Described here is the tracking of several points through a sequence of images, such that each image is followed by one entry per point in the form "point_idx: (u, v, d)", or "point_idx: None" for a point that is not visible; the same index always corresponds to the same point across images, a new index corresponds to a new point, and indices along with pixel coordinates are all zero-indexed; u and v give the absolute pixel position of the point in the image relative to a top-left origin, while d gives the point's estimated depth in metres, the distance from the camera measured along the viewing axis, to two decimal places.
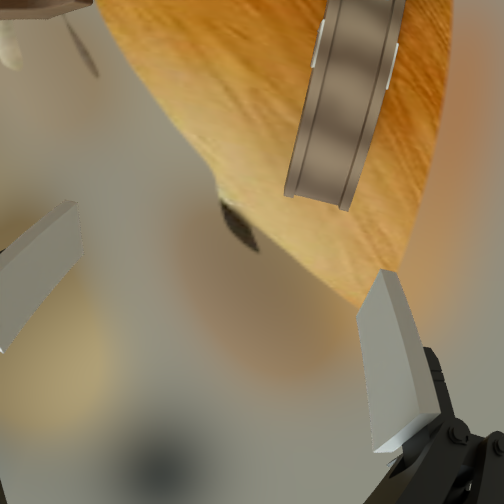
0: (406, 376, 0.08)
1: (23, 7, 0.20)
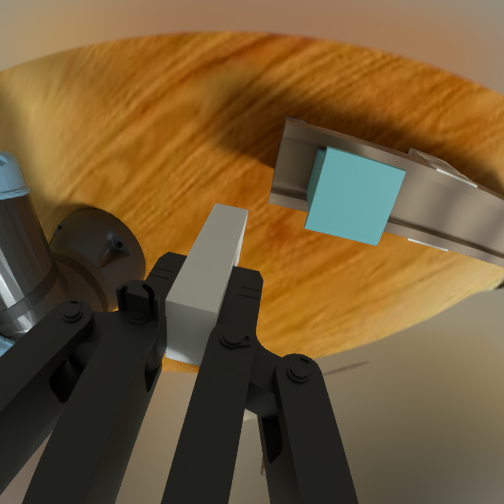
0: None
1: None
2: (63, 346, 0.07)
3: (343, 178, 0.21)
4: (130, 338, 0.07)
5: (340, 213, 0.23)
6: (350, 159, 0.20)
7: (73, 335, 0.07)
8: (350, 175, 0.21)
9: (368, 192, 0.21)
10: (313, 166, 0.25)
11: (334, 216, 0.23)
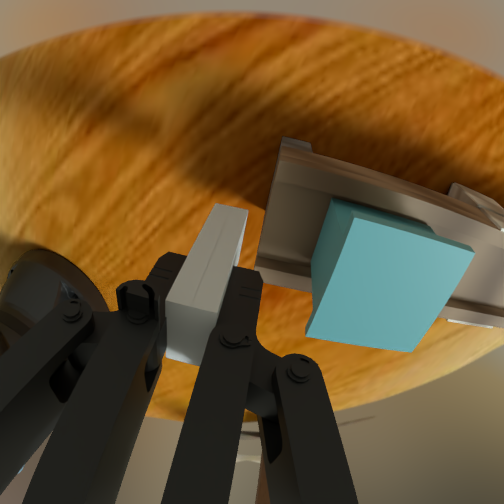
0: None
1: None
2: (63, 346, 0.07)
3: (376, 267, 0.12)
4: (130, 338, 0.07)
5: (364, 317, 0.13)
6: (391, 237, 0.11)
7: (73, 335, 0.07)
8: (388, 262, 0.12)
9: (413, 286, 0.12)
10: (323, 226, 0.16)
11: (354, 321, 0.14)
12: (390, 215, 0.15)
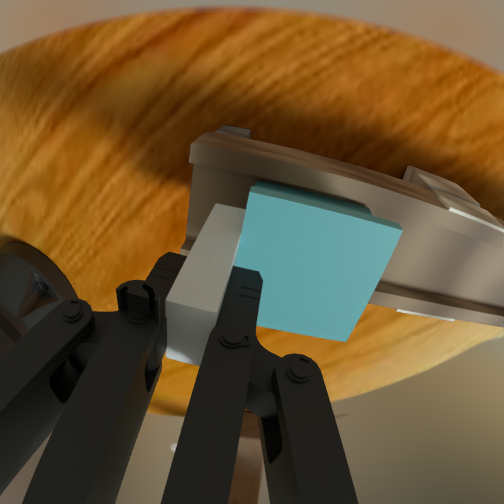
0: None
1: (259, 481, 0.35)
2: (63, 346, 0.07)
3: (283, 245, 0.12)
4: (130, 338, 0.07)
5: (281, 299, 0.14)
6: (293, 212, 0.11)
7: (73, 335, 0.07)
8: (296, 240, 0.12)
9: (331, 266, 0.12)
10: None
11: (271, 303, 0.14)
12: (320, 196, 0.15)
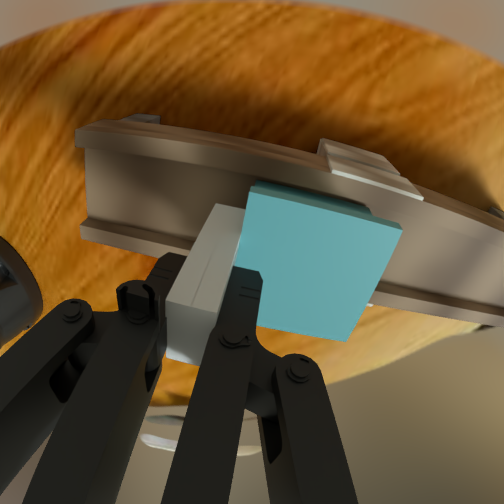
0: None
1: None
2: (63, 346, 0.07)
3: (282, 244, 0.12)
4: (130, 338, 0.07)
5: (281, 299, 0.14)
6: (293, 212, 0.11)
7: (73, 335, 0.07)
8: (296, 240, 0.12)
9: (331, 266, 0.12)
10: None
11: (271, 303, 0.14)
12: (320, 196, 0.15)
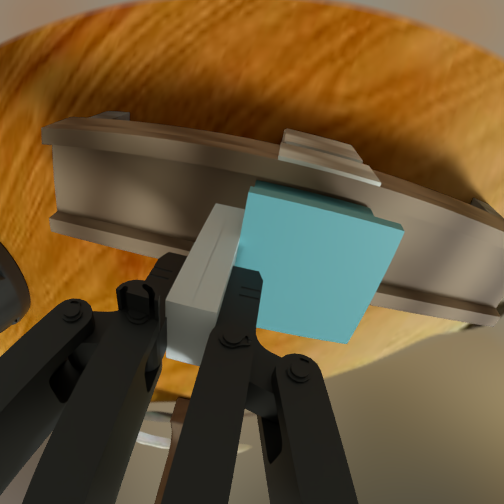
0: None
1: None
2: (63, 346, 0.07)
3: (282, 246, 0.12)
4: (130, 338, 0.07)
5: (281, 301, 0.13)
6: (293, 212, 0.11)
7: (73, 335, 0.07)
8: (296, 241, 0.12)
9: (331, 268, 0.12)
10: None
11: (271, 305, 0.14)
12: (321, 196, 0.15)
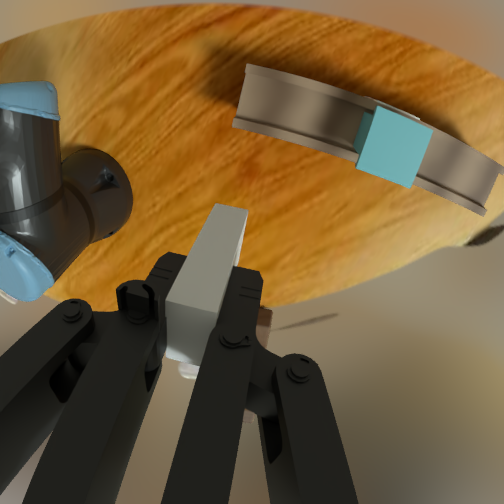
0: None
1: None
2: (63, 346, 0.07)
3: (387, 130, 0.25)
4: (130, 338, 0.07)
5: (384, 158, 0.27)
6: (393, 116, 0.24)
7: (73, 335, 0.07)
8: (393, 128, 0.25)
9: (405, 143, 0.25)
10: None
11: (379, 160, 0.27)
12: None
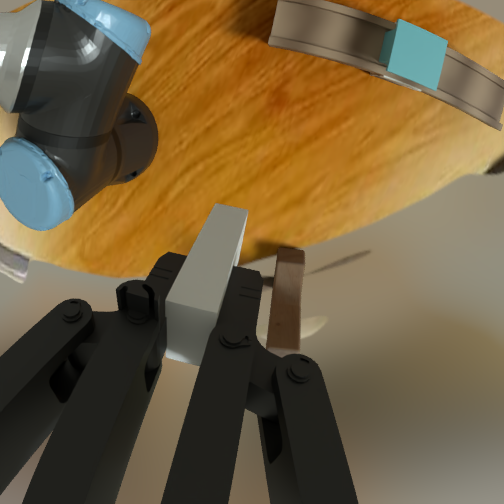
0: None
1: (298, 308, 0.47)
2: (63, 346, 0.07)
3: (410, 38, 0.23)
4: (130, 338, 0.07)
5: (410, 62, 0.25)
6: (413, 28, 0.23)
7: (73, 335, 0.07)
8: (414, 37, 0.23)
9: (426, 50, 0.24)
10: None
11: (406, 64, 0.25)
12: None
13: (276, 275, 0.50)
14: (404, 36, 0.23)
